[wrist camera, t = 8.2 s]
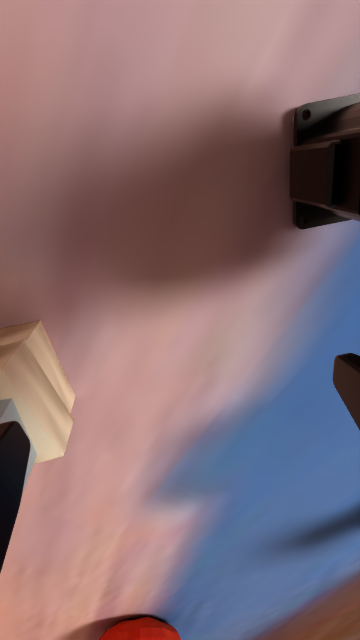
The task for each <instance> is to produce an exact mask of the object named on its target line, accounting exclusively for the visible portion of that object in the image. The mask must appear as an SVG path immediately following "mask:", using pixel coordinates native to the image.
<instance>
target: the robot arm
mask: <svg viewBox="0 0 360 640" xmlns="http://www.w3.org/2000/svg"><path fill="white" fill-rule="evenodd" d="M303 111H306V112H307V115H308V116H307V119H306V120H303V119H302V113H303ZM290 198H291V199H293V224H294V226H295V227H297V228H299V229H307V228H312V227H317V226H322V225H327V224H332V223H337V222H342V221H347V220H352V219H353V220H357V221H360V93H359V94H354V95H349V96H344V97H338V98H333V99H328V100H323V101H318V102H312V103H307V104H304V105H302V106H300V107H299V108H298V109H297V110H296V112H295V115H294V147H293V149H292V150H291V152H290ZM302 217H304V218H305V220H304V222H303V223H302V224H300V219H301V218H302ZM333 383H334V386H335V388H336V390H337V391H338V393H339V395H340V397H341V398H342V400H343V402H344V404H345V405H346V407H347V409H348V411H349V412H350V414H351V416H352V418H353V419H354V421H355V423H356V425H357V426H358V428H359V430H360V356H359V355H356V354H353V353H347V354H342V355H338V356H336V357H335V360H334V370H333ZM30 448H31V444H30V440H29V438H28V436H27V435H26V433H25V431H24V430H23V428H22V426H21V425H20V423H19V422H18V421H9V422H4V423H1V424H0V573H1V569H2V566H3V562H4V559H5V555H6V552H7V548H8V545H9V541H10V538H11V535H12V531H13V528H14V524H15V521H16V517H17V514H18V510H19V506H20V502H21V497H22V492H23V487H24V481H25V476H26V471H27V465H28V460H29V454H30Z"/></svg>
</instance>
